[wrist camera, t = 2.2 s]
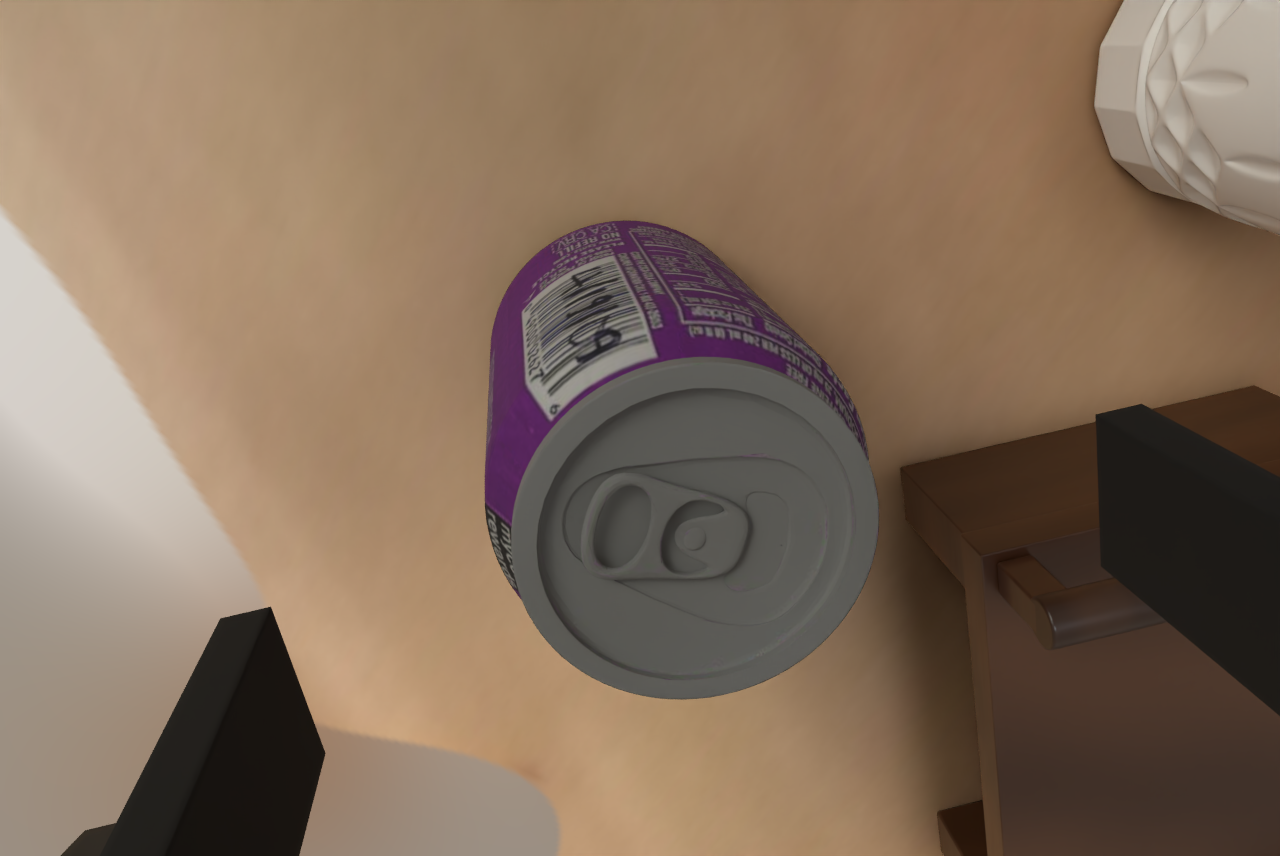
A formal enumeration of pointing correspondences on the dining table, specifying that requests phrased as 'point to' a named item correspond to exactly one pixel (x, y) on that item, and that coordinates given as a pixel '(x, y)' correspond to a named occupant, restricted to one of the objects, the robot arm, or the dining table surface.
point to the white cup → (1197, 102)
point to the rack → (1093, 662)
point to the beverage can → (670, 467)
